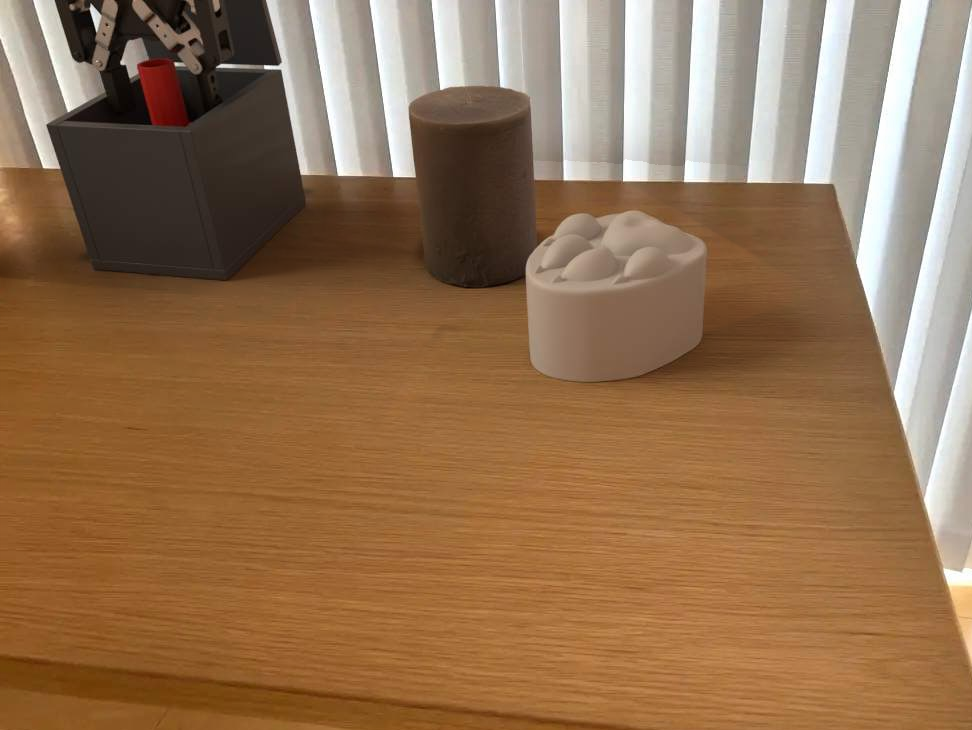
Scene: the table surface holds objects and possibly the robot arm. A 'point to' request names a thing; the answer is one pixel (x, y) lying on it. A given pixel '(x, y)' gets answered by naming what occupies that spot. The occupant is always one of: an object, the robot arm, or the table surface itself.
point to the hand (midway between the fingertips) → (167, 113)
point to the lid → (236, 35)
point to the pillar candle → (475, 183)
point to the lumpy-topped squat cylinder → (614, 297)
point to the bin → (182, 177)
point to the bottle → (163, 92)
